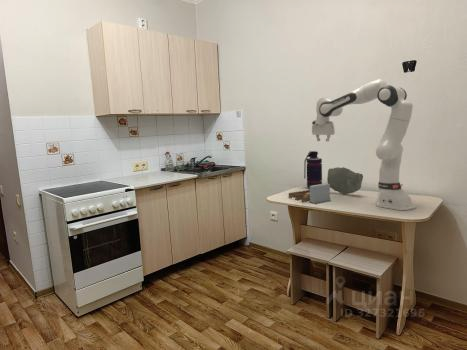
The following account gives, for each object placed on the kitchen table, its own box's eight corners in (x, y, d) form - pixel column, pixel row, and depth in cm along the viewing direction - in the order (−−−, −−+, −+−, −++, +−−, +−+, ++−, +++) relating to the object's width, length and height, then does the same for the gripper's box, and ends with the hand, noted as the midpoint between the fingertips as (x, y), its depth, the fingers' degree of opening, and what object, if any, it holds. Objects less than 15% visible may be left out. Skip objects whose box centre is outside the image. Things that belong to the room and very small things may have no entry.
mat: (330, 201, 219) (330, 200, 219) (315, 203, 214) (315, 203, 214) (323, 199, 226) (323, 198, 226) (308, 201, 220) (308, 201, 220)
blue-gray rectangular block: (329, 200, 221) (329, 184, 219) (313, 203, 215) (313, 186, 214) (326, 199, 224) (326, 183, 223) (309, 202, 218) (309, 185, 217)
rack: (325, 198, 228) (325, 193, 228) (303, 202, 220) (302, 197, 220) (310, 194, 243) (310, 189, 243) (288, 197, 235) (288, 193, 235)
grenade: (320, 186, 271) (320, 150, 266) (323, 189, 259) (322, 151, 255) (303, 187, 272) (303, 151, 268) (305, 189, 261) (304, 152, 256)
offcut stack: (317, 198, 228) (316, 192, 228) (305, 200, 224) (305, 194, 224) (313, 197, 232) (313, 191, 231) (301, 199, 228) (301, 193, 227)
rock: (364, 196, 230) (365, 167, 227) (361, 197, 225) (361, 168, 222) (330, 191, 249) (330, 165, 246) (326, 193, 244) (325, 166, 241)
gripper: (336, 121, 224) (336, 141, 226) (317, 121, 243) (317, 140, 245) (329, 121, 222) (329, 141, 224) (310, 122, 240) (310, 141, 242)
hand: (323, 141), depth 234 cm, fingers open, 8 cm apart
